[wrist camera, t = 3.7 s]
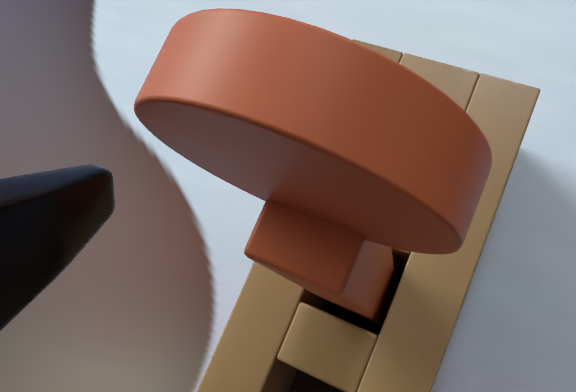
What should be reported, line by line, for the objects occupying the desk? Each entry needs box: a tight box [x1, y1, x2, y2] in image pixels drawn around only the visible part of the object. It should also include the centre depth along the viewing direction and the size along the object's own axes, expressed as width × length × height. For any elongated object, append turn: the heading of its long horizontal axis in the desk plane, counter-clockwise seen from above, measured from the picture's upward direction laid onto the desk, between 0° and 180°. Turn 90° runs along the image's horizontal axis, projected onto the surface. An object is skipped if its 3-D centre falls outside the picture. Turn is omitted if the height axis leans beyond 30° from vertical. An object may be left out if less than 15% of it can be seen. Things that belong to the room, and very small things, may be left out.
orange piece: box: [134, 9, 492, 324], centre depth 11 cm, size 2×4×14 cm, turn 66°
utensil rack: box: [197, 40, 540, 392], centre depth 16 cm, size 5×13×4 cm, turn 155°
